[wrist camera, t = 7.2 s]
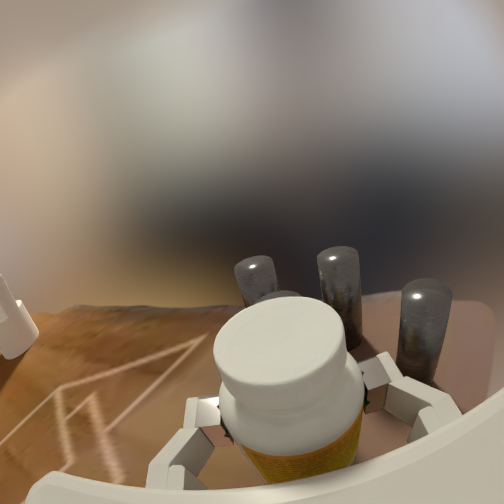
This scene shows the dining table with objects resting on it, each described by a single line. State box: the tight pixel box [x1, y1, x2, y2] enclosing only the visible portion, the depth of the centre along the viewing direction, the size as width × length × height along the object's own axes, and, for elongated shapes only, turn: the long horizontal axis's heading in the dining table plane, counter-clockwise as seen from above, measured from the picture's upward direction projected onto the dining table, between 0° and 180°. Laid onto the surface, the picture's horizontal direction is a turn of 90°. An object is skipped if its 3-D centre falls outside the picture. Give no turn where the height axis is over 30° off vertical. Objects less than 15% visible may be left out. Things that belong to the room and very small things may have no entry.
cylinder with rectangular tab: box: [0, 274, 39, 359], centre depth 31 cm, size 9×9×12 cm
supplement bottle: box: [213, 297, 365, 485], centre depth 10 cm, size 5×5×10 cm
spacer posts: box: [234, 246, 452, 387], centre depth 19 cm, size 12×12×8 cm
